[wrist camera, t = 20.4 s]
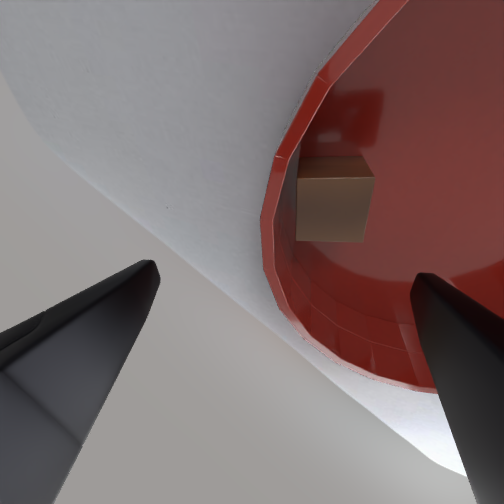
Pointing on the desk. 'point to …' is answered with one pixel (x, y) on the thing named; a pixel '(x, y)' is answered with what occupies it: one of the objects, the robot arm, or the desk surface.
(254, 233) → the desk surface
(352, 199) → the block
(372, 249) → the red round bowl
